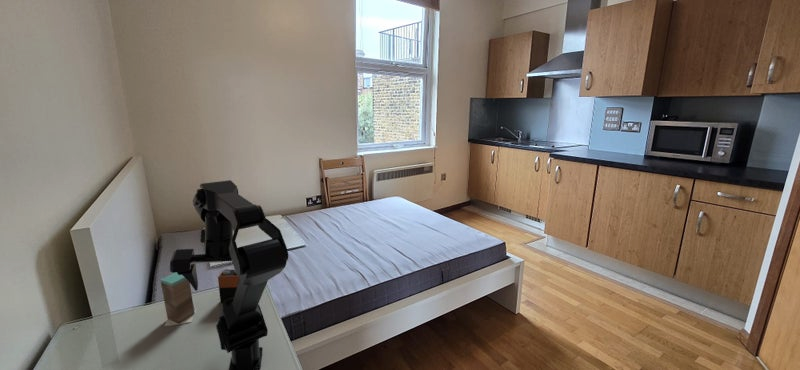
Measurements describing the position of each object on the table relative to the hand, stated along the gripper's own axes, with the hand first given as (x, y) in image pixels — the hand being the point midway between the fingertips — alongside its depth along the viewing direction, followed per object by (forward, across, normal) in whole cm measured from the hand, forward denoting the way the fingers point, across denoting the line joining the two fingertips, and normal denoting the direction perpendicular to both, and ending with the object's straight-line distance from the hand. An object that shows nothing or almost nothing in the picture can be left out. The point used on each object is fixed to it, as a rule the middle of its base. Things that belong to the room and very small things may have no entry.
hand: (218, 287), depth 81 cm
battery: (+14, -4, -12) cm, 18 cm away
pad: (+14, +9, -8) cm, 19 cm away
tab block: (+14, +9, -8) cm, 19 cm away
